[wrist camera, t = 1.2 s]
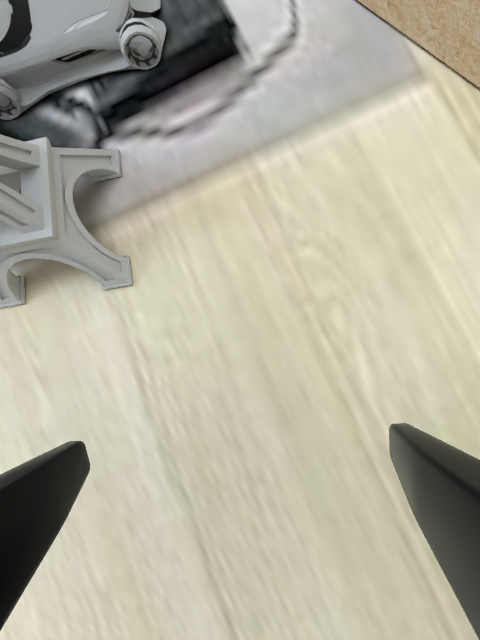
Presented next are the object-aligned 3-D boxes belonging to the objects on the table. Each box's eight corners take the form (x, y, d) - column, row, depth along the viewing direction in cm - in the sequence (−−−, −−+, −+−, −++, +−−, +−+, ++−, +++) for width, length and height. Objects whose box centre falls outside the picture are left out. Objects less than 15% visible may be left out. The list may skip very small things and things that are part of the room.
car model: (175, 66, 29) (154, 7, 24) (-46, 139, 31) (-106, 99, 26) (154, -27, 30) (130, -101, 25) (-55, 49, 33) (-114, -5, 28)
